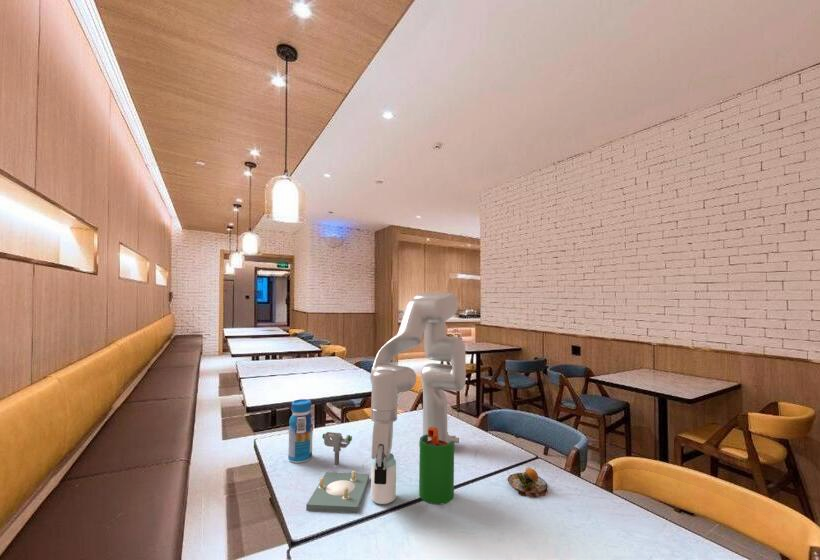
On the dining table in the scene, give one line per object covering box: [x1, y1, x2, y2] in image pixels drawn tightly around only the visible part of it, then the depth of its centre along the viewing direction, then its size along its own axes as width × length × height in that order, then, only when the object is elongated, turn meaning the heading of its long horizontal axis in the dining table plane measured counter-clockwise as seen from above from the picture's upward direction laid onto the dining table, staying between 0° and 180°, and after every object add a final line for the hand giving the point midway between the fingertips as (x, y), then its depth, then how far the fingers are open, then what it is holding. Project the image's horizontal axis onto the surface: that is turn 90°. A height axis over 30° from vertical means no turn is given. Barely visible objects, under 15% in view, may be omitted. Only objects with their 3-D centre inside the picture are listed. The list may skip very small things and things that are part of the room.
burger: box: [506, 466, 549, 499], centre depth 109 cm, size 12×12×8 cm
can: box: [370, 452, 397, 505], centre depth 102 cm, size 7×7×12 cm
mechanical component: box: [321, 431, 353, 466], centre depth 123 cm, size 3×10×10 cm, turn 79°
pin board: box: [305, 470, 370, 513], centre depth 105 cm, size 14×18×4 cm
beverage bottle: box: [287, 398, 314, 464], centre depth 128 cm, size 8×8×20 cm
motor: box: [418, 427, 455, 505], centre depth 105 cm, size 10×9×20 cm
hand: (382, 475), depth 102 cm, fingers open, 9 cm apart
